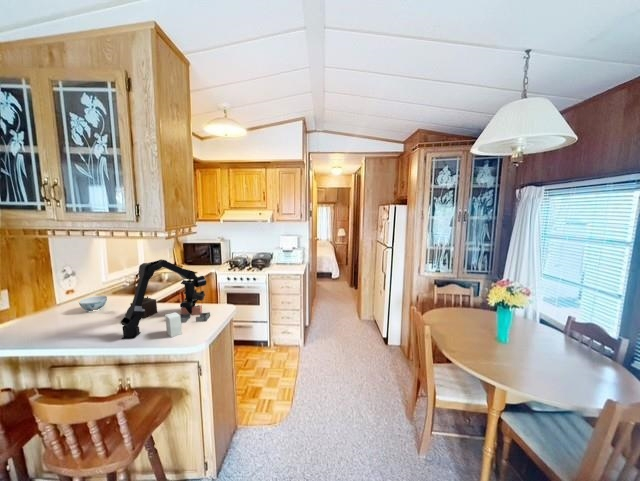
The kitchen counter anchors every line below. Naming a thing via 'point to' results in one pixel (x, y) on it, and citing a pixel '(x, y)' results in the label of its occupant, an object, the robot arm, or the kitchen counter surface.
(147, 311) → the dark brown boxy piece
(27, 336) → the kitchen counter surface
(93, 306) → the chinaware
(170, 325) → the small box
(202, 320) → the shallow metal tray
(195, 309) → the link
